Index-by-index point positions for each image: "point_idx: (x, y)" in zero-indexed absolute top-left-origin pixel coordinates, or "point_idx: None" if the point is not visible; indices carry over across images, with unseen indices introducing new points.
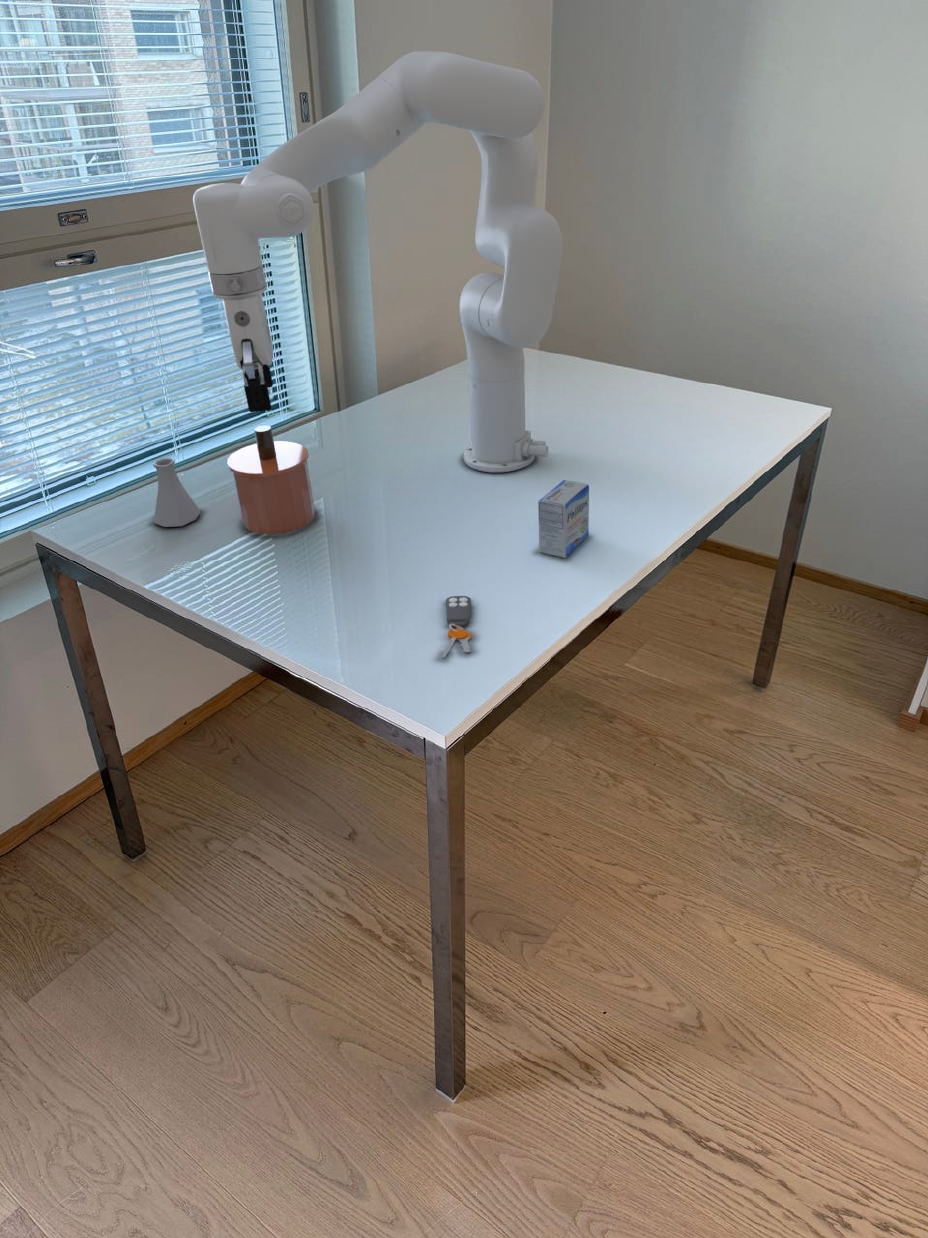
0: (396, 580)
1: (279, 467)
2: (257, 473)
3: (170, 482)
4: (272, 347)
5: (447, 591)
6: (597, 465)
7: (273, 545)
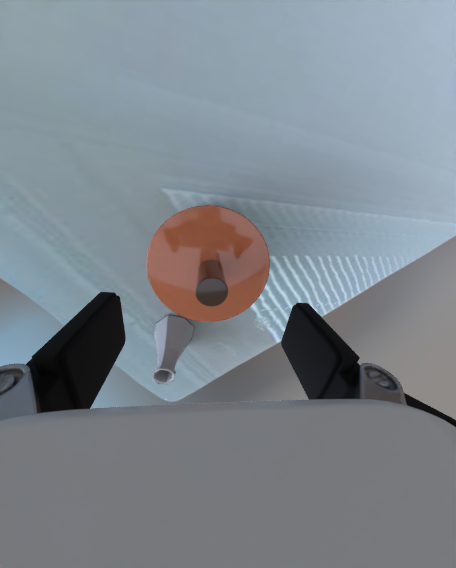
0: (386, 142)
1: (258, 258)
2: (263, 287)
3: (176, 357)
4: (58, 448)
5: (443, 85)
6: None
7: None
